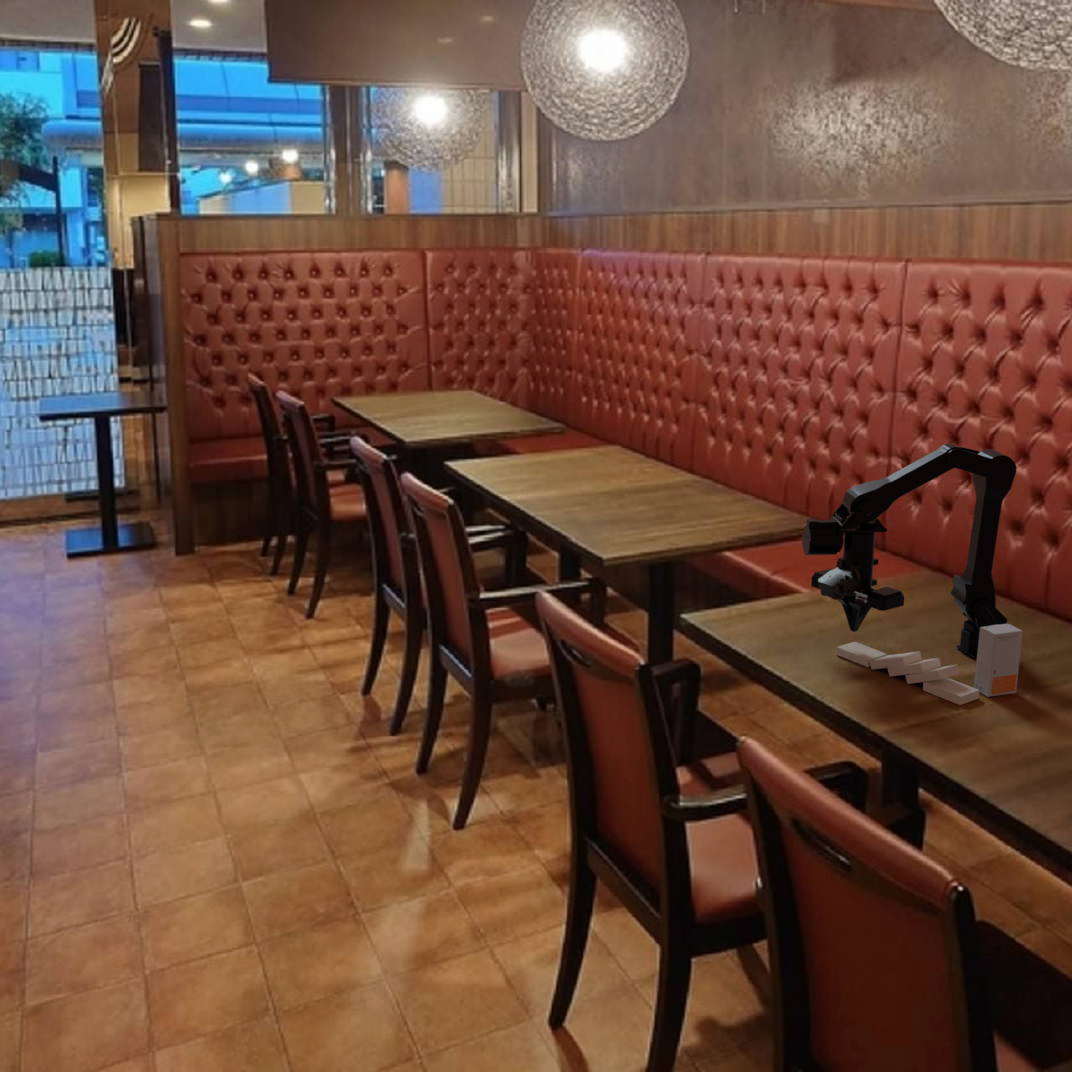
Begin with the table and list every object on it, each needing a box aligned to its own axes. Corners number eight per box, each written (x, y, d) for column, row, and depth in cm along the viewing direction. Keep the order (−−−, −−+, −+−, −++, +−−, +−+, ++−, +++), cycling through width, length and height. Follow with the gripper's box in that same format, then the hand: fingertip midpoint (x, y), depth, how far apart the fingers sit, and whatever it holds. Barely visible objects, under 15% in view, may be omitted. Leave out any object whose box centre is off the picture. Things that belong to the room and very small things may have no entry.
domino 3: (887, 668, 210) (920, 663, 203) (905, 662, 213) (939, 657, 206) (889, 676, 210) (922, 672, 203) (908, 671, 212) (941, 666, 206)
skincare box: (988, 698, 200) (994, 634, 196) (973, 688, 204) (978, 626, 200) (1017, 693, 201) (1024, 630, 198) (1002, 684, 205) (1008, 622, 202)
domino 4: (905, 675, 206) (937, 670, 200) (924, 669, 209) (957, 664, 202) (907, 684, 206) (940, 679, 199) (927, 678, 209) (960, 673, 202)
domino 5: (923, 681, 203) (960, 696, 196) (942, 675, 206) (979, 690, 199) (922, 690, 203) (959, 705, 197) (941, 684, 206) (978, 698, 199)
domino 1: (836, 646, 220) (868, 659, 214) (854, 641, 223) (886, 653, 216) (836, 654, 221) (867, 667, 214) (854, 649, 223) (886, 662, 217)
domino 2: (869, 661, 213) (902, 657, 207) (887, 655, 216) (920, 651, 209) (871, 669, 213) (904, 666, 207) (889, 663, 216) (922, 660, 209)
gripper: (792, 549, 218) (789, 625, 223) (866, 573, 203) (861, 654, 207) (833, 540, 224) (829, 614, 228) (908, 562, 209) (903, 642, 213)
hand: (853, 631), depth 219 cm, fingers closed
